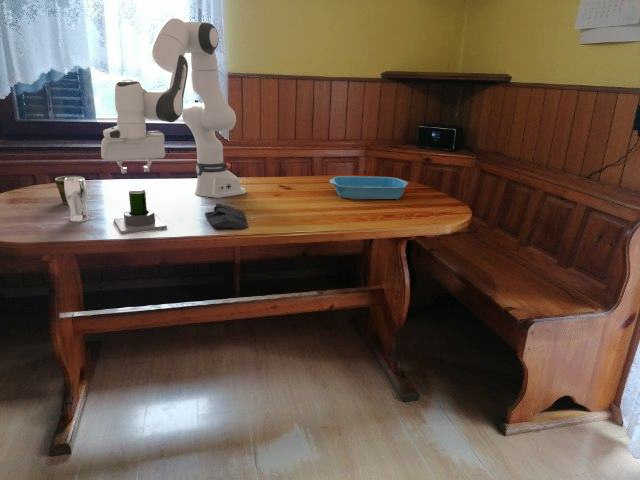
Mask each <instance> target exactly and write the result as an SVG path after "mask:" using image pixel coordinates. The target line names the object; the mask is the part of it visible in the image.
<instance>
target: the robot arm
mask: <svg viewBox="0 0 640 480" xmlns="http://www.w3.org/2000/svg"><path fill="white" fill-rule="evenodd" d="M219 41H220V39H219V33H218V30H217V28H216V26H215V25H214V24H212V23H208V22H205V21H204V22H198V21H187V22H185V21H183V20H182V19H180V18H178V17H171V18H168V19H167V20H166V21H165V22H164V23H163V24H162V26H160V28H159V30H158V32H157V33H156V36H155V38H154V41H153V43H152V45H151V52H150V53H151V57H152V59H153V60H154V62H155V64H156V65H157V66H159V67H160V68H161V69H162V70H164V71H166V72H168V73H171V74H170V79H169V84H168V88H167V89H164V90H149V89H147V88H145V87H143V86H142V83H141V81H139V80H136V79H124V80H119V81H118V82H116V84H115V87H114V107H115V111H116V113H117V114H116V115H117V118H116V119H117V120H116V125H115V126H112V127H109V128H105V129H103V131H102V135H103V138H102V140H101V146H100V156H101V159H103V161H105V162H114V161H115V162H116V163H117V165H118V166H119V168H120V171H121V174H122V175H124V174H128V173H127V172H128V169H127V167H125V166H123V165H122V164H123V161H134V160H146V161H147V163H146V165H143V172H144V173H150V167H151V165H152V163H153V160H156V159H164V158H165V156H166V150H165V149H166V148H165V144H164V143H165V134H164V133H163V132H161V131H160V130H147V126H146V120H150V121H152V120H153V121H161V122H167V123H175V122H176V121H177V120H179V118H180V117H182V121H183V123H184V124H185V125H186V126H187V127H188V128H189V130H190V131H191V133H192V135H193V138H194V141H195V145H196V156H197V161H196V174H197V180H196V189H195V192H194V194H196V195H198V196H201V197H207V198H208V197H210V198H216V199H218V198H225V197H231V196H239V195H244V194H246V193H247V191H246V188H244V187H243V186H241V185H242V184H241V181H240V179H239V177H237V176H236V175H235V174H234V173H233V172H231V171H230V170H229V169H231V167H232V164H231V163H229V162H225V161H224V150H223V149H224V148H223V147H224V146H223V143H222V141H220V139H218V138H217V136H216V135H215V131H216V132H227V131H231V130H233V129H234V127H235V125H236V122H237V115H236V112H235V111H234V108H232V107H231V106H230V105H229V104H228V102H227V101H226V99H225V97H224V95H223V93H222V90H221V86H220V76H219V65H218V60H217V55H216V50H217V47H218V46H219ZM185 54H189V63H188V61H187V58H186V57H185ZM188 64H190V65H188ZM189 66H190V68H189ZM189 69H190V76H191V84H192V86H191V87H192V89H193V91H194V92H195V93H196V94H197V95H198V96H199V97H200V99H201V101H202V102H193V103H188V104H186V105H185V106H184V95H185V90H186V87H187V86H186V84H187V79H188V73H189V72H188V71H189ZM181 115H182V116H181Z"/></svg>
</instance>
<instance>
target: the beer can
mask: <svg viewBox="0 0 640 480" xmlns="http://www.w3.org/2000/svg"><path fill="white" fill-rule="evenodd" d="M128 196H129V198H128V199H129V206H130V208H129V209H130V210H131V215H136V216H138V215H146V214H147V209H148V206H147V196H146V190H145V188H144V187H131V188H129V191H128Z"/></svg>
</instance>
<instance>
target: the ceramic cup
mask: <svg viewBox="0 0 640 480" xmlns="http://www.w3.org/2000/svg"><path fill="white" fill-rule="evenodd" d="M69 177H82V176H79V175H64V176H59V177H55V179H54V181H55V185H56V187H57V189H58V193H59V196H60V199H61V201H62V204H63V205H66V206H69V205H68V202H67V199H66V195H65V188H64V179H65V178H69Z"/></svg>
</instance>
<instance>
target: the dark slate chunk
mask: <svg viewBox="0 0 640 480" xmlns="http://www.w3.org/2000/svg"><path fill="white" fill-rule="evenodd" d="M204 215H205V217H206V220H208V222H209V223H210V224H211V227H213V228H214V229H228V230H247V229H246V228H248V229H249V226H248V219H247V217H246V214H245V212H244V211H243V210H239V209H237V208H235V207H233V206H231V205H227V204H223V203H219V202H218V203H217V202H216V204H215V206H214V207H213V211H209V212H204Z"/></svg>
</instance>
